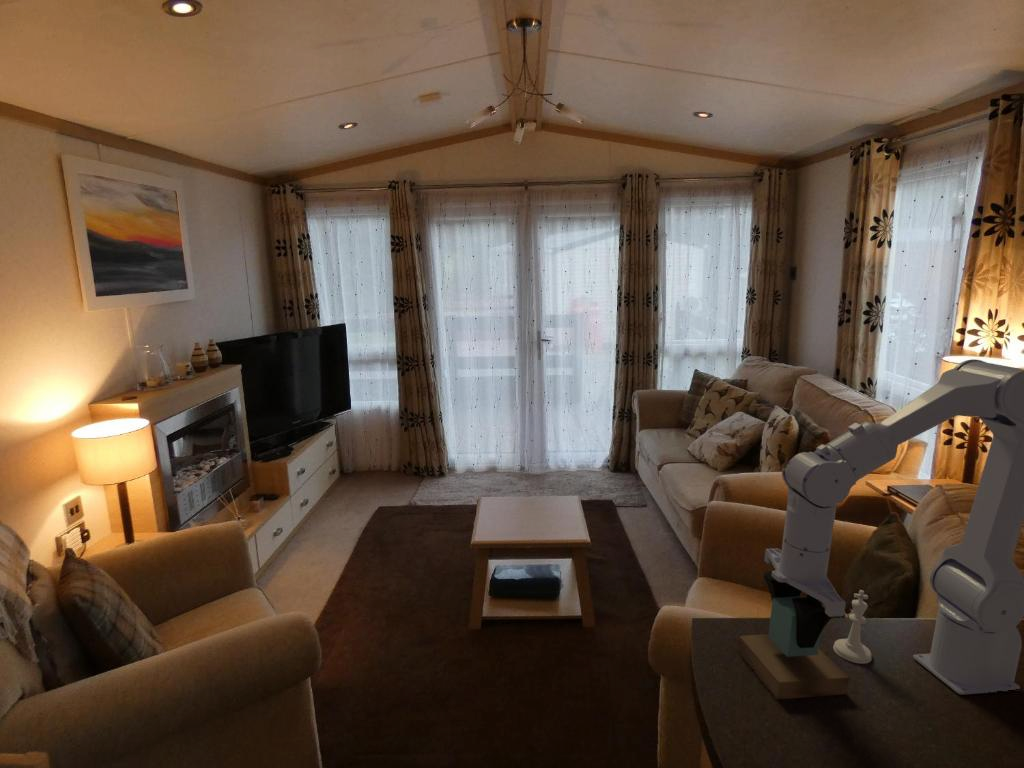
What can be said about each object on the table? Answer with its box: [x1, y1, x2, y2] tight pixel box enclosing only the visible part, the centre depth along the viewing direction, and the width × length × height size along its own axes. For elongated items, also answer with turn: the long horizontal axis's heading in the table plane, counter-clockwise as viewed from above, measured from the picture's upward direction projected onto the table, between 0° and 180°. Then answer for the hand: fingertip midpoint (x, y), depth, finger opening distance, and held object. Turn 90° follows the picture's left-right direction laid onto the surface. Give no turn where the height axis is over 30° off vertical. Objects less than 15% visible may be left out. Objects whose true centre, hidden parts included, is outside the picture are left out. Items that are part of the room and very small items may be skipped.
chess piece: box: [833, 589, 872, 665], centre depth 86 cm, size 5×5×10 cm
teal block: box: [768, 596, 822, 657], centre depth 81 cm, size 4×4×6 cm
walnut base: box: [737, 633, 850, 700], centre depth 82 cm, size 10×10×2 cm
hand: (794, 634), depth 81 cm, fingers closed on teal block, 4 cm apart
